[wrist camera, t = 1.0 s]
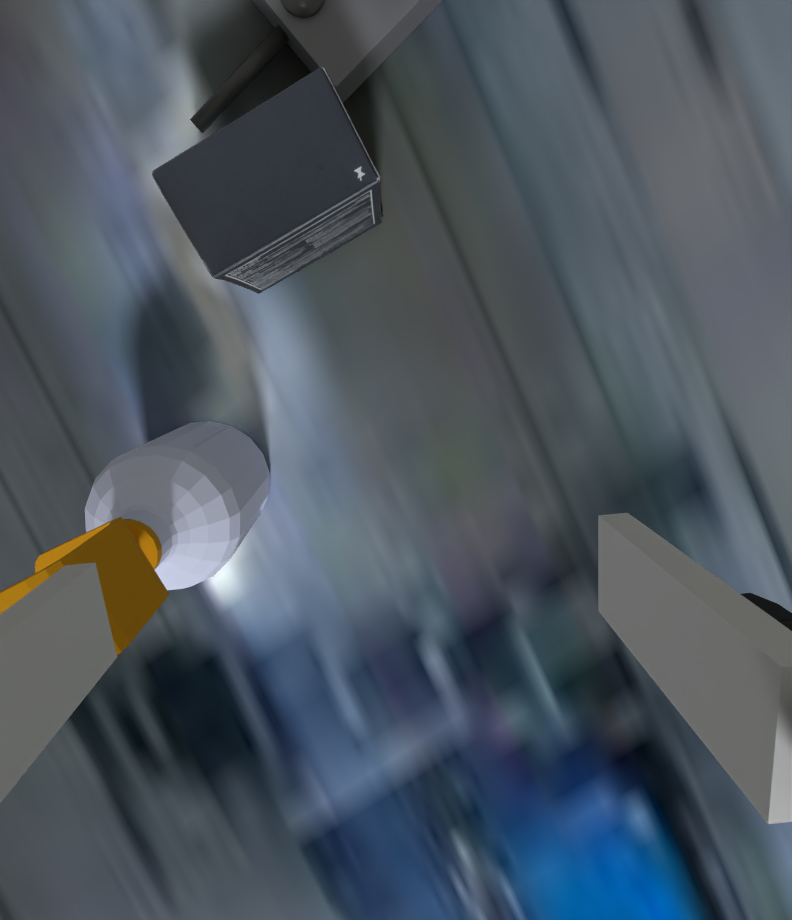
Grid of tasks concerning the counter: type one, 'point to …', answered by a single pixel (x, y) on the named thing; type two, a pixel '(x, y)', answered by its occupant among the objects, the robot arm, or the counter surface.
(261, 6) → the power strip
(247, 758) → the counter surface
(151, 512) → the soap bottle
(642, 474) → the counter surface
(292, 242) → the small box
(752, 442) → the counter surface
